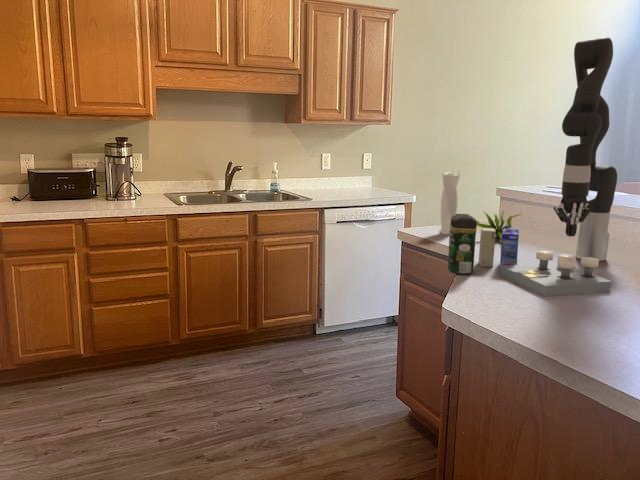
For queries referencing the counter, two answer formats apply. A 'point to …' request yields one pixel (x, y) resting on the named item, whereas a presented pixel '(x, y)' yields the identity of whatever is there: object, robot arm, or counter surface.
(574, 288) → the board
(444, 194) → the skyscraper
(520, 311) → the counter surface
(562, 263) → the button
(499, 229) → the decorative plant
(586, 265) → the button
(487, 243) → the skincare box
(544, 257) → the button
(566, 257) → the button
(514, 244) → the ink cartridge box
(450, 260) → the coffee jar
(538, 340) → the counter surface
